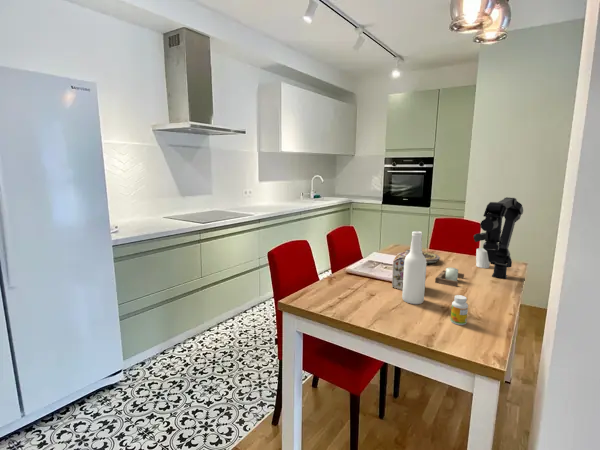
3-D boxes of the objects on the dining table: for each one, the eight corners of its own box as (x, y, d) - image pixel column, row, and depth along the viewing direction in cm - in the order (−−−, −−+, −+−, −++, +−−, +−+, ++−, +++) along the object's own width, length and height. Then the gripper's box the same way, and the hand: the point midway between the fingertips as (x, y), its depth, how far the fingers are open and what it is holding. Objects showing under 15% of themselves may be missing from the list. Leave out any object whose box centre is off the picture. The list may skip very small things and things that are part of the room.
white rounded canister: (446, 278, 173) (447, 266, 172) (458, 280, 170) (459, 268, 169) (443, 280, 169) (444, 269, 168) (455, 283, 165) (456, 271, 164)
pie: (406, 253, 224) (407, 246, 223) (450, 260, 208) (450, 253, 207) (391, 263, 201) (391, 255, 201) (438, 271, 186) (439, 263, 185)
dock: (443, 274, 179) (443, 270, 179) (463, 277, 173) (464, 273, 173) (435, 282, 166) (435, 278, 166) (456, 286, 160) (457, 282, 160)
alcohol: (413, 306, 137) (417, 234, 132) (397, 299, 145) (401, 230, 140) (428, 302, 141) (433, 232, 136) (412, 295, 149) (416, 229, 144)
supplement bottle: (447, 319, 126) (449, 294, 124) (461, 318, 126) (463, 294, 125) (455, 325, 121) (457, 300, 119) (469, 325, 121) (472, 299, 119)
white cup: (492, 269, 189) (494, 251, 187) (477, 268, 190) (478, 251, 189) (487, 265, 196) (489, 248, 195) (473, 264, 198) (474, 247, 196)
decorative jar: (425, 287, 159) (428, 250, 156) (415, 294, 151) (417, 255, 148) (402, 281, 167) (404, 246, 164) (390, 287, 159) (392, 250, 156)
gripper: (478, 224, 173) (475, 253, 176) (472, 229, 158) (469, 261, 161) (503, 226, 167) (500, 256, 170) (499, 232, 152) (496, 265, 155)
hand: (491, 259), depth 164 cm, fingers open, 9 cm apart
